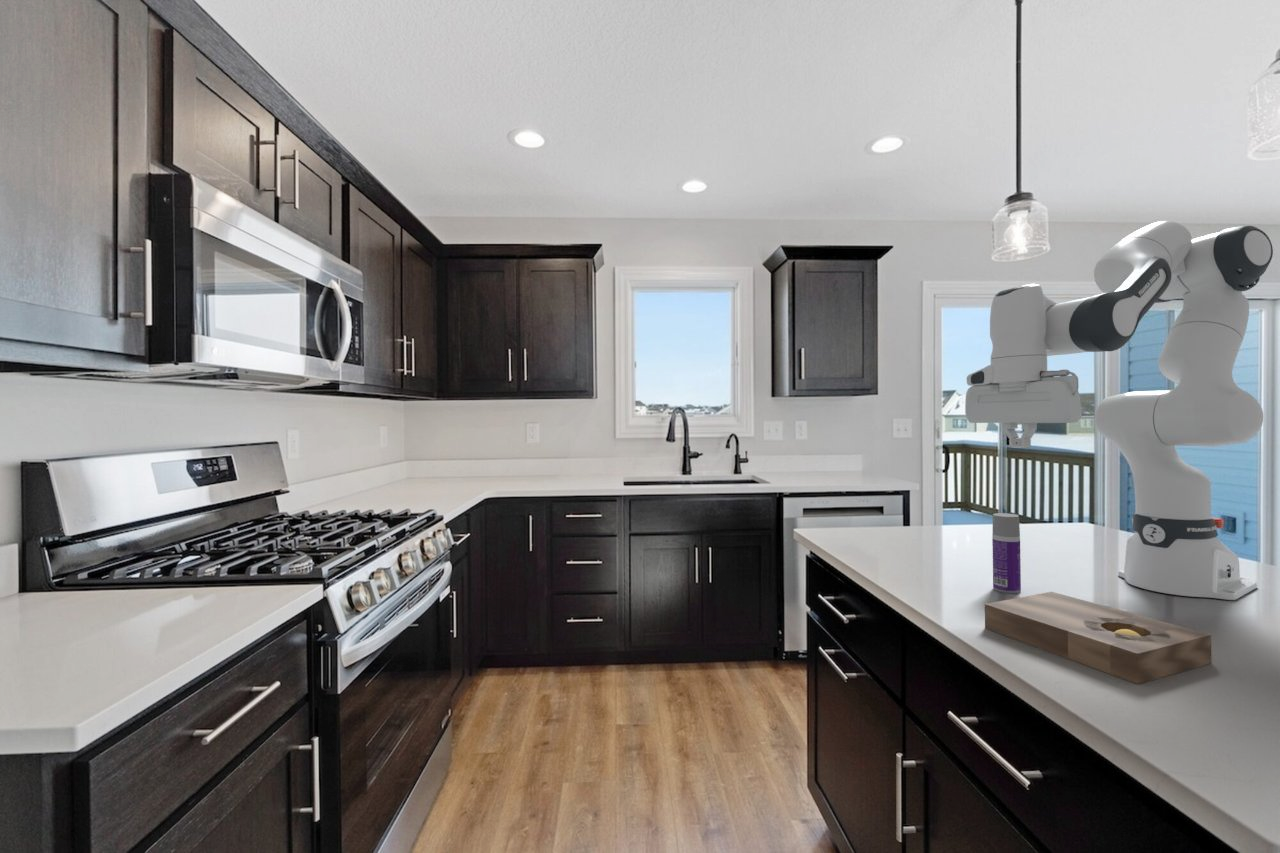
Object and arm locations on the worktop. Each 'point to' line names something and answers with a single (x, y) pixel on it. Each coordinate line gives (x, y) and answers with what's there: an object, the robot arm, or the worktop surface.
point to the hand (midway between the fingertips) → (1020, 447)
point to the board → (1100, 636)
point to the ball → (1127, 632)
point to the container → (1006, 553)
